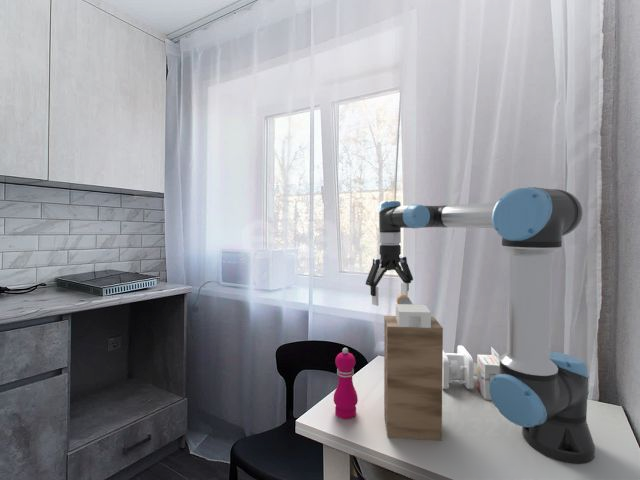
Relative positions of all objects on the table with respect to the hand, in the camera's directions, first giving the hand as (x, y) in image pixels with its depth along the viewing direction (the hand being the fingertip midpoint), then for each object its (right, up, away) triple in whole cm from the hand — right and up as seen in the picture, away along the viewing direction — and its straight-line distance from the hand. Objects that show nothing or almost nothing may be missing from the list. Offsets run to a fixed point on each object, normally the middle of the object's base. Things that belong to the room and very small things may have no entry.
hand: (390, 302), depth 121 cm
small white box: (0, 0, -23) cm, 23 cm away
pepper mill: (-18, -30, -21) cm, 40 cm away
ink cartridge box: (+30, -29, -11) cm, 43 cm away
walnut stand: (0, -30, -28) cm, 41 cm away
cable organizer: (+21, -28, -3) cm, 36 cm away
